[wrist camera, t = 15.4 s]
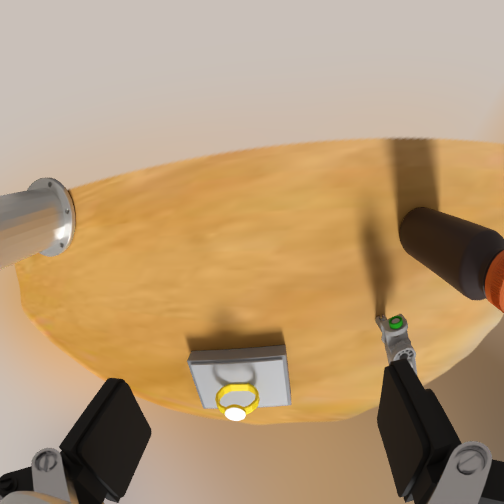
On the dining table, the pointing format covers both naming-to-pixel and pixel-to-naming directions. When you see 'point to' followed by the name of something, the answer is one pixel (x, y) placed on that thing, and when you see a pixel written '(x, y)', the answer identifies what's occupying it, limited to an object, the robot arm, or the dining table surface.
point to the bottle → (457, 252)
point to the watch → (235, 410)
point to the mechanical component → (396, 339)
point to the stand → (242, 375)
